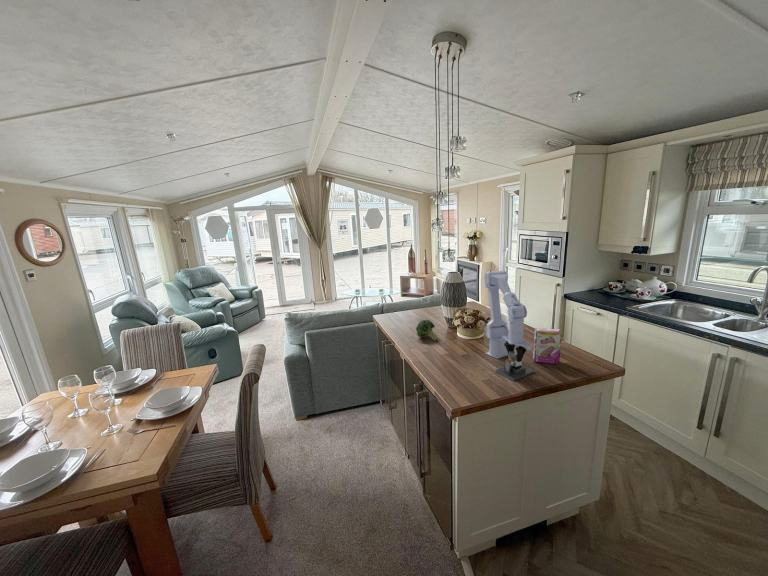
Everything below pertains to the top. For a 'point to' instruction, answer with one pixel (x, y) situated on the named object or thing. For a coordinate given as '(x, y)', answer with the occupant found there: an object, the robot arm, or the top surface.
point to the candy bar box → (547, 345)
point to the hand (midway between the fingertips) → (515, 359)
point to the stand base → (514, 371)
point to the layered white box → (514, 358)
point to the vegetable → (426, 329)
